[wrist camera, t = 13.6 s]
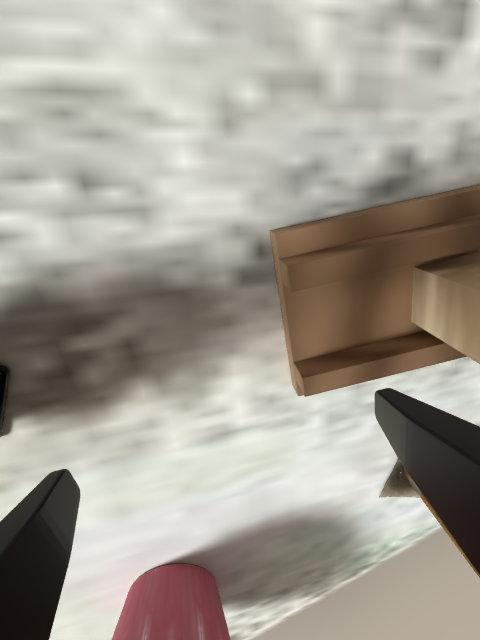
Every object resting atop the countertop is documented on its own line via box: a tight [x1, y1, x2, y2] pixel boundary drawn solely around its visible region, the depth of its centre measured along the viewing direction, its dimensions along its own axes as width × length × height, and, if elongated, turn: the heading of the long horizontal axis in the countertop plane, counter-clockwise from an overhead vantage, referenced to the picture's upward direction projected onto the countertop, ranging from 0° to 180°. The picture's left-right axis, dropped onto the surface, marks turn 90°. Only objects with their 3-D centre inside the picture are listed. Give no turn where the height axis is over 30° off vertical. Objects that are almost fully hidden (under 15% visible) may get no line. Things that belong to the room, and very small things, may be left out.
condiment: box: [379, 459, 480, 577], centre depth 25 cm, size 7×8×12 cm
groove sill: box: [270, 185, 480, 397], centre depth 21 cm, size 22×12×4 cm, turn 101°
